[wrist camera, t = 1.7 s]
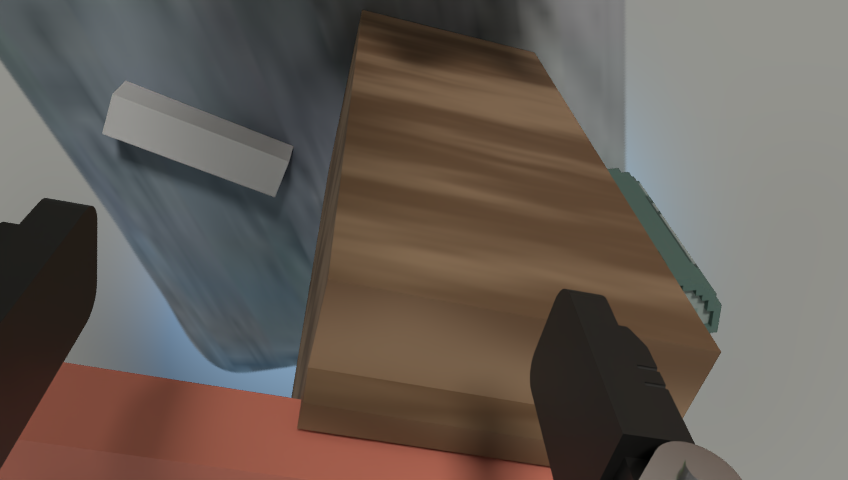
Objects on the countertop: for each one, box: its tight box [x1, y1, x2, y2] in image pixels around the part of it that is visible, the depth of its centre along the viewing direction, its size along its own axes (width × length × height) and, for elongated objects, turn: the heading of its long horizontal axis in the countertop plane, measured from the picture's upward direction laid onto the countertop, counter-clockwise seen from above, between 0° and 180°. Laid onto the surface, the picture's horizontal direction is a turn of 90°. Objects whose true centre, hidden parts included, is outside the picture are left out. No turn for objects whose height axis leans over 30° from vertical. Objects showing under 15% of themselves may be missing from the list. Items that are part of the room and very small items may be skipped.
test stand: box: [292, 10, 721, 466], centre depth 37 cm, size 12×12×34 cm
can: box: [607, 168, 721, 333], centre depth 49 cm, size 6×6×15 cm
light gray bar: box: [102, 81, 293, 197], centre depth 50 cm, size 3×12×3 cm, turn 65°
